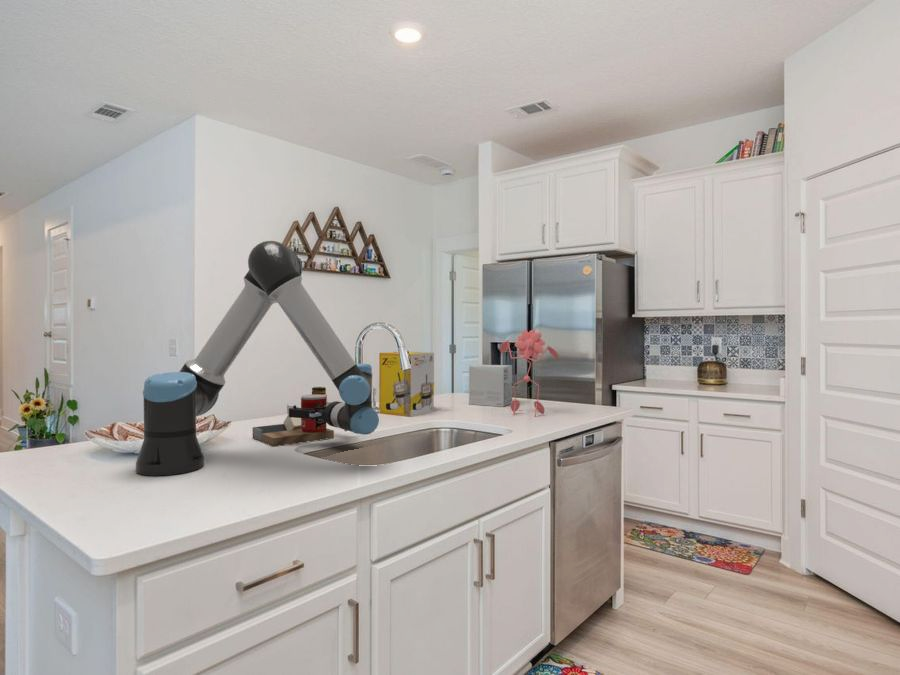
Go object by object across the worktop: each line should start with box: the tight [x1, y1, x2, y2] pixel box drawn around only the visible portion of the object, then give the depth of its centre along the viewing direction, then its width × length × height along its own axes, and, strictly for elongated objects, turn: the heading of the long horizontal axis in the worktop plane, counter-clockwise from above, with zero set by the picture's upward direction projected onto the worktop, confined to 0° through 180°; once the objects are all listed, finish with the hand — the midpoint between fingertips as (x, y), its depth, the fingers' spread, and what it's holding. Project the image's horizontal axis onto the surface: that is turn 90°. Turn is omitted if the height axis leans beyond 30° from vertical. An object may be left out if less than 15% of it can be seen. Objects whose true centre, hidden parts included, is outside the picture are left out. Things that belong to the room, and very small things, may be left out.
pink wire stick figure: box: [499, 329, 560, 418], centre depth 232 cm, size 15×26×35 cm, turn 64°
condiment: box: [310, 386, 328, 401], centre depth 217 cm, size 7×8×12 cm
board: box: [260, 427, 335, 447], centre depth 175 cm, size 20×9×2 cm, turn 130°
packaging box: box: [378, 351, 435, 418], centre depth 233 cm, size 16×16×25 cm
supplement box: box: [468, 364, 513, 407], centre depth 261 cm, size 17×13×18 cm
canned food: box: [300, 394, 327, 433], centre depth 178 cm, size 8×8×11 cm
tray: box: [252, 423, 287, 442], centre depth 181 cm, size 20×7×4 cm, turn 130°
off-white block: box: [282, 414, 301, 430], centre depth 183 cm, size 4×4×5 cm
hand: (308, 407), depth 181 cm, fingers open, 13 cm apart
